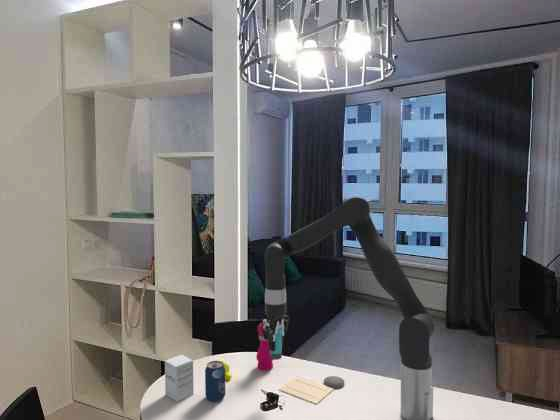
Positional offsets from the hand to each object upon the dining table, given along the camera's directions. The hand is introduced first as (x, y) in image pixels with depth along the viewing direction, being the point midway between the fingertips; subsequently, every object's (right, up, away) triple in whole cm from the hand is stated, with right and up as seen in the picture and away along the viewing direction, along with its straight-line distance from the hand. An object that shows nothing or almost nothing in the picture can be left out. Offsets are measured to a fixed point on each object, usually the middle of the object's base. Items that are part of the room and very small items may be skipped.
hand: (276, 348), depth 135 cm
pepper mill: (-5, -16, +22) cm, 27 cm away
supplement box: (-34, -17, +2) cm, 39 cm away
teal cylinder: (0, -3, 0) cm, 3 cm away
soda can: (-21, -17, -1) cm, 27 cm away
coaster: (+22, -16, +9) cm, 28 cm away
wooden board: (+11, -17, +4) cm, 20 cm away
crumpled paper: (-21, -17, +13) cm, 30 cm away
